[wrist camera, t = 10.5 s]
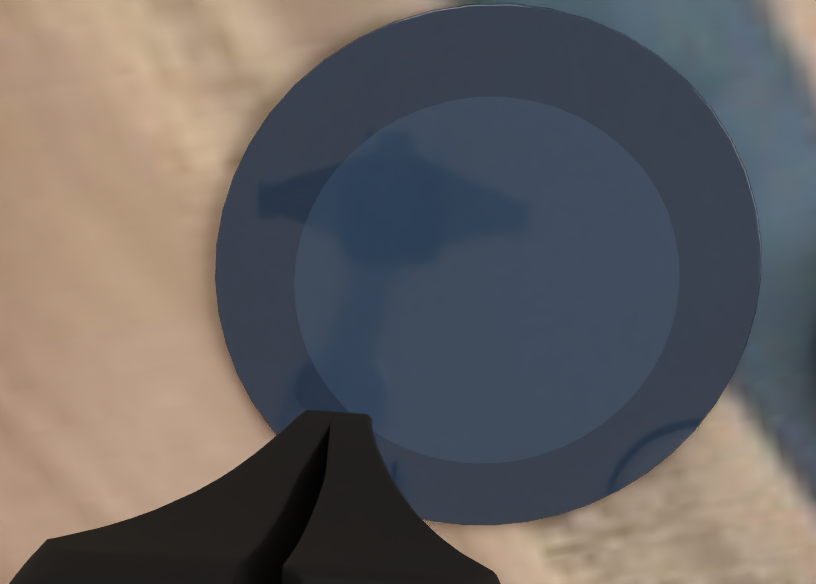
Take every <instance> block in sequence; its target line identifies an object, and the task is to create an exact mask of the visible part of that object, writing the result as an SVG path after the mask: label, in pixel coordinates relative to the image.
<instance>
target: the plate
mask: <svg viewBox="0 0 816 584" xmlns="http://www.w3.org/2000/svg"><path fill="white" fill-rule="evenodd" d="M760 280H761V237H760V230H759V222H758V215H757V207H756V204H755V200H754V197H753V193H752V190H751V186H750V183H749V179H748V176H747V172H746V170H745V168H744V166H743V163H742V161H741V159H740V157H739V155H738V152H737V150H736V148H735V146H734V143H733V141H732V139H731V138H730V136H729V134H728V133H727V131H726V130H725V128H724V127H723V125H722V124H721V122H720V120H719V119H718V117H717V116H716V114H715V113H714V111H713V110H712V108H711V107H710V106H709V105H708V104H707V102H706V101H705V100H704V99H703V98H702V97H701V96H700V94H699V93H698V92H697V91H696V90H695V89H694V88H693V86H692V85H691V84H690V83H689V82H688V81H687V80H686V79H685V78H684V77H683V76H682V75H680V74H679V73H678V72H677V71H676V70H675V69H673V68H672V67H671V66H670V65H669V64H667V63H666V62H665V61H664V60H663V59H662V58H660V57H659V56H658V55H656V54H655V53H653V52H652V51H650V50H648V49H647V48H645V47H644V46H642V45H640V44H639V43H637V42H636V41H634V40H632V39H631V38H629V37H628V36H626V35H624V34H622V33H620V32H617V31H615V30H613V29H610V28H608V27H606V26H604V25H601V24H599V23H597V22H594V21H592V20H590V19H587V18H583V17H579V16H576V15H572V14H568V13H565V12H561V11H558V10H554V9H549V8H542V7H534V6H526V5H518V4H470V5H463V6H457V7H450V8H444V9H437V10H431V11H428V12H425V13H421V14H418V15H415V16H411V17H408V18H405V19H401V20H398V21H395V22H392V23H390V24H388V25H386V26H383V27H381V28H379V29H377V30H375V31H373V32H370V33H368V34H366V35H364V36H362V37H359V38H357V39H356V40H354V41H353V42H351V43H350V44H348V45H346V46H345V47H343V48H342V49H340V50H339V51H337V52H335V53H334V54H332V55H331V56H329V57H328V58H326V59H324V60H323V61H322V62H321V63H320V64H319V65H317V66H316V67H315V68H314V69H313V70H312V71H310V72H309V73H308V74H307V75H306V76H304V77H303V78H302V79H301V80H300V81H299V82H297V83H296V84H295V85H294V86H293V87H292V89H291V90H290V91H289V92H288V93H287V94H286V95H285V96H284V98H283V99H282V100H281V101H280V102H279V103H278V104H277V105H276V107H275V108H274V109H273V110H272V111H271V112H270V113H269V115H268V116H267V118H266V119H265V121H264V122H263V124H262V125H261V127H260V128H259V130H258V131H257V133H256V134H255V136H254V137H253V139H252V140H251V142H250V143H249V145H248V147H247V149H246V152H245V154H244V156H243V158H242V160H241V162H240V164H239V166H238V168H237V170H236V172H235V174H234V176H233V179H232V183H231V186H230V189H229V192H228V195H227V198H226V201H225V204H224V207H223V210H222V216H221V222H220V227H219V233H218V239H217V244H216V270H215V282H216V292H217V302H218V312H219V316H220V321H221V325H222V329H223V333H224V337H225V342H226V345H227V348H228V350H229V353H230V356H231V358H232V361H233V363H234V366H235V369H236V371H237V374H238V376H239V378H240V380H241V381H242V383H243V385H244V387H245V389H246V391H247V393H248V394H249V396H250V398H251V400H252V402H253V403H254V405H255V406H256V408H257V409H258V410H259V412H260V413H261V415H262V416H263V417H264V419H265V420H266V422H267V423H268V424H269V426H270V427H271V429H272V430H273V431H274V432H275V433H276V434H277V435H278V434H279V433H280V432H281V431H282V430H284V429H285V428H286V427H287V426H288V425H289V424H290V423H291V422H292V421H293V420H295V419H296V418H297V417H298V416H299V415H300V414H302V413H303V412H304V411H305V410H319V411H333V412H347V413H360V414H368V415H369V417H370V418H371V419H372V429H373V433H374V437H375V440H376V443H377V446H378V449H379V452H380V454H381V456H382V458H383V461H384V463H385V465H386V467H387V469H388V471H389V473H390V475H391V477H392V478H393V480H394V482H395V484H396V485H397V487H398V489H399V490H400V492H401V493H402V495H403V496H404V498H405V499H406V501H407V502H408V503H409V505H410V506H411V507H412V508H413V510H414V511H415V512H416V513H417V515H418V516H419V517H420V518H421V519H425V520H429V521H434V522H443V523H451V524H459V525H502V524H512V523H521V522H529V521H533V520H538V519H543V518H547V517H552V516H556V515H560V514H563V513H566V512H569V511H572V510H575V509H578V508H581V507H584V506H587V505H589V504H591V503H594V502H596V501H598V500H600V499H602V498H604V497H606V496H608V495H611V494H613V493H615V492H617V491H619V490H621V489H622V488H624V487H625V486H627V485H629V484H630V483H632V482H634V481H635V480H637V479H638V478H640V477H642V476H643V475H645V474H646V473H648V472H649V471H650V470H651V469H653V468H654V467H655V466H657V465H658V464H659V463H660V462H662V461H663V460H664V459H665V458H667V457H668V456H669V455H670V454H672V453H673V452H674V451H675V450H676V449H677V448H678V447H679V446H680V445H681V444H682V443H683V442H684V441H685V440H686V439H687V438H688V437H689V436H690V435H691V434H692V433H693V432H694V431H695V430H696V428H697V427H698V426H699V425H700V423H701V422H702V421H703V419H704V418H705V417H706V416H707V414H708V413H709V412H710V410H711V409H712V408H713V407H714V405H715V404H716V402H717V401H718V399H719V397H720V396H721V394H722V392H723V391H724V389H725V387H726V386H727V384H728V382H729V381H730V379H731V377H732V376H733V374H734V371H735V369H736V367H737V365H738V362H739V360H740V358H741V355H742V353H743V351H744V349H745V346H746V344H747V340H748V337H749V334H750V330H751V327H752V323H753V320H754V316H755V313H756V307H757V300H758V294H759V287H760Z"/></svg>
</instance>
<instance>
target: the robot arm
mask: <svg viewBox="0 0 816 584" xmlns="http://www.w3.org/2000/svg"><path fill="white" fill-rule="evenodd" d="M9 584H500V581H499V579H498V577H497V575H496V574H495V573H494V572H493V571H492V570H490V569H488V568H486V567H485V566H483V565H481V564H479V563H478V562H476V561H474V560H472V559H471V558H469V557H467V556H465V555H464V554H462V553H461V552H459V551H458V550H457V549H455V548H454V547H452V546H451V545H450V544H448V543H447V542H446V541H444V540H443V539H442V538H441V537H440V536H438V535H437V534H436V533H435V532H434V531H433V530H432V529H431V528H430V527H429V526H428V525H427V524H426V523H425V522H424V521H423V520H422V519H421V518H420V517H419V516H418V515H417V513H416V512H415V511H414V510H413V508H412V507H411V506H410V505H409V503H408V502H407V501H406V499H405V498H404V496H403V495H402V493H401V492H400V490H399V489H398V487H397V485H396V484H395V482H394V480H393V478H392V477H391V475H390V473H389V471H388V469H387V467H386V465H385V463H384V461H383V458H382V456H381V454H380V452H379V449H378V446H377V443H376V440H375V437H374V433H373V429H372V419H371V418H370V417H369V415H368V414H360V413H347V412H333V411H319V410H305V411H304V412H303V413H302V414H300V415H299V416H298V417H297V418H296V419H295V420H293V421H292V422H291V423H290V424H289V425H288V426H287V427H286V428H285V429H284V430H282V431H281V432H280V433H279V434H278V435H277V436H276V437H275V438H273V439H272V440H271V441H270V442H269V443H267V444H266V445H265V446H264V447H263V448H261V449H260V450H259V451H258V452H257V453H255V454H254V455H253V456H251V457H250V458H248V459H247V460H246V461H244V462H243V463H242V464H240V465H239V466H237V467H236V468H235V469H233V470H232V471H230V472H229V473H227V474H226V475H224V476H222V477H221V478H219V479H217V480H216V481H214V482H212V483H210V484H209V485H207V486H205V487H203V488H201V489H200V490H198V491H196V492H194V493H192V494H190V495H187V496H185V497H183V498H181V499H178V500H176V501H174V502H172V503H169V504H167V505H165V506H163V507H160V508H158V509H156V510H153V511H151V512H148V513H145V514H142V515H139V516H137V517H134V518H131V519H128V520H124V521H121V522H118V523H115V524H112V525H108V526H104V527H101V528H97V529H93V530H88V531H84V532H80V533H75V534H71V535H66V536H62V537H57V538H52V539H47V540H46V541H45V542H44V543H43V544H42V546H41V547H40V548H39V549H38V550H37V551H36V552H35V553H34V554H33V555H32V556H31V557H30V559H29V560H28V561H27V562H26V563H25V564H24V566H23V567H22V568H21V569H20V571H19V572H18V573H17V574H16V576H15V577H14V578H13V579H12V581H11V582H10V583H9Z"/></svg>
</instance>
